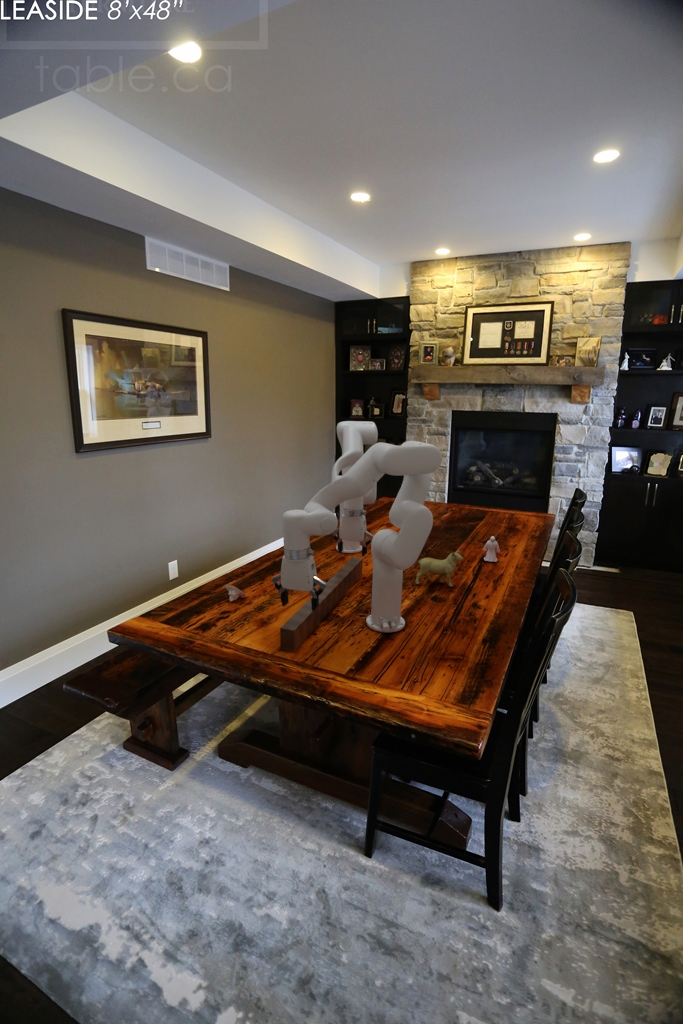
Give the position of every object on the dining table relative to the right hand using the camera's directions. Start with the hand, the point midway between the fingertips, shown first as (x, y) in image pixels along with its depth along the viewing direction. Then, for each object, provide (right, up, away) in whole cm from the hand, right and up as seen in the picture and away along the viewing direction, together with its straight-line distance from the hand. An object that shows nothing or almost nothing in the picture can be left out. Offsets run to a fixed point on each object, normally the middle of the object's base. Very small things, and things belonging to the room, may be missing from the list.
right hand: (299, 606), depth 149 cm
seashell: (-26, -3, +30) cm, 39 cm away
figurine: (+80, +6, +76) cm, 110 cm away
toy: (+50, 0, +46) cm, 68 cm away
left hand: (+17, +12, +48) cm, 52 cm away
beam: (+8, -5, +26) cm, 28 cm away
